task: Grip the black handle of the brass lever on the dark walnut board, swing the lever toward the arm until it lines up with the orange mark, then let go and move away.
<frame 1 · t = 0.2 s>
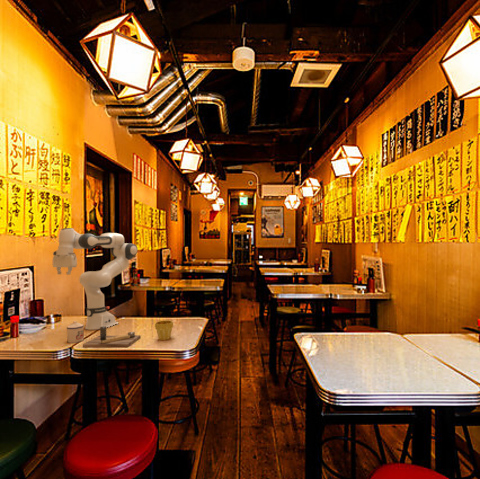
hand: (63, 274, 212), 39 cm above the table, tool pointing down, fingers open, 8 cm apart
teacup with lid: (77, 340, 200), on the table
lever: (117, 332, 192), point 6 cm above the table, hinge at 0.0°
lever board: (112, 342, 192), on the table
plant pot: (164, 339, 197), on the table
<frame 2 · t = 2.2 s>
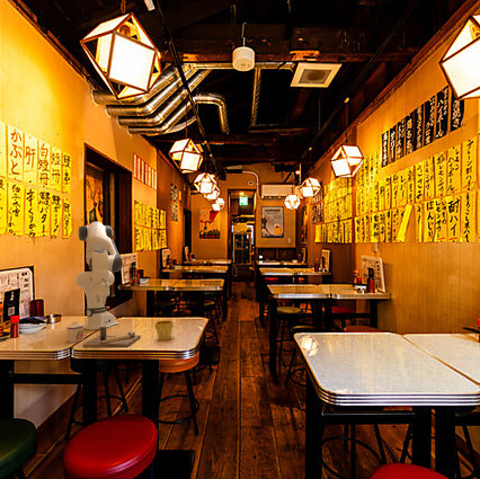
hand: (100, 303, 187), 24 cm above the table, tool pointing down, fingers open, 8 cm apart
nothing on the table moved.
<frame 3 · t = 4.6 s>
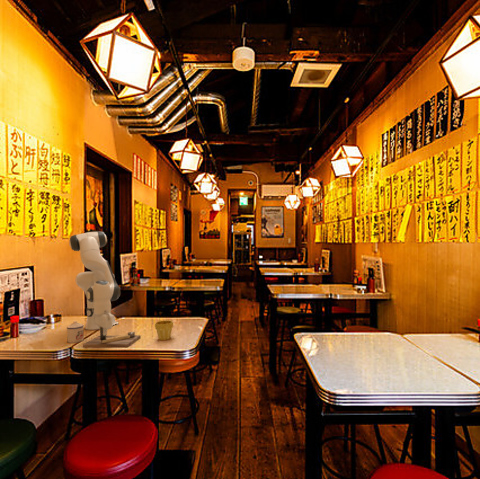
hand: (103, 334, 187), 6 cm above the table, tool pointing down, fingers closed on lever, 3 cm apart
lever: (117, 332, 192), point 6 cm above the table, hinge at 0.1°, touching gripper
everything else where it was.
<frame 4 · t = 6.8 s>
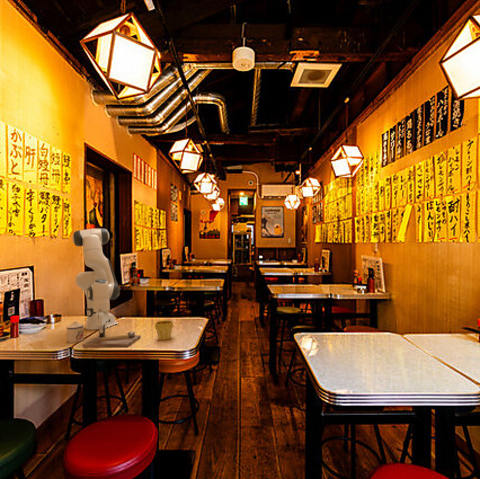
hand: (102, 331, 193), 6 cm above the table, tool pointing down, fingers open, 4 cm apart
lever: (117, 330, 195), point 6 cm above the table, hinge at 24.7°, touching gripper
everything else where it was.
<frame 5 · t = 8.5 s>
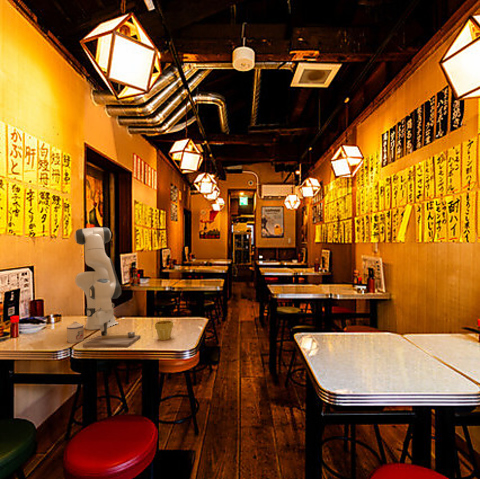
hand: (104, 330, 197), 6 cm above the table, tool pointing down, fingers closed on lever, 3 cm apart
lever: (117, 329, 197), point 6 cm above the table, hinge at 39.7°, touching gripper
everything else where it was.
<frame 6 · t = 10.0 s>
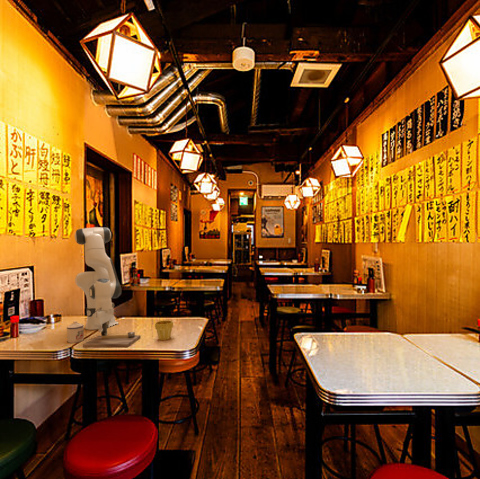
hand: (104, 329, 197), 6 cm above the table, tool pointing down, fingers open, 8 cm apart
lever: (117, 329, 197), point 6 cm above the table, hinge at 39.7°
everything else where it was.
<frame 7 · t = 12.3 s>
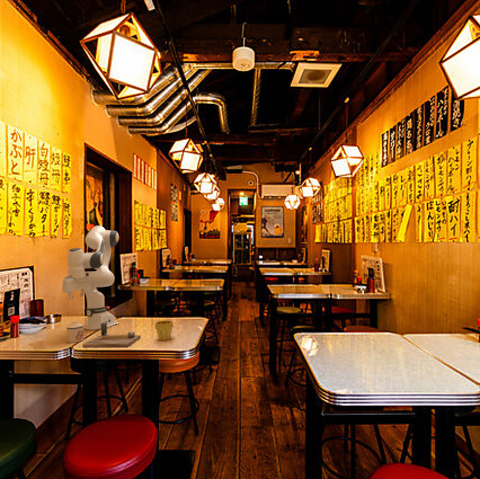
hand: (76, 297, 202), 25 cm above the table, tool pointing down, fingers open, 8 cm apart
nothing on the table moved.
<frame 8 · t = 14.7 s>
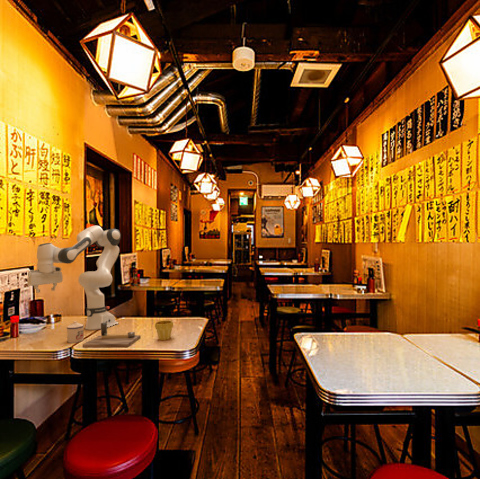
hand: (45, 291, 206), 29 cm above the table, tool pointing down, fingers open, 8 cm apart
nothing on the table moved.
at the end: lever at +40° (first picture: +0°); the gripper is holding nothing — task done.
